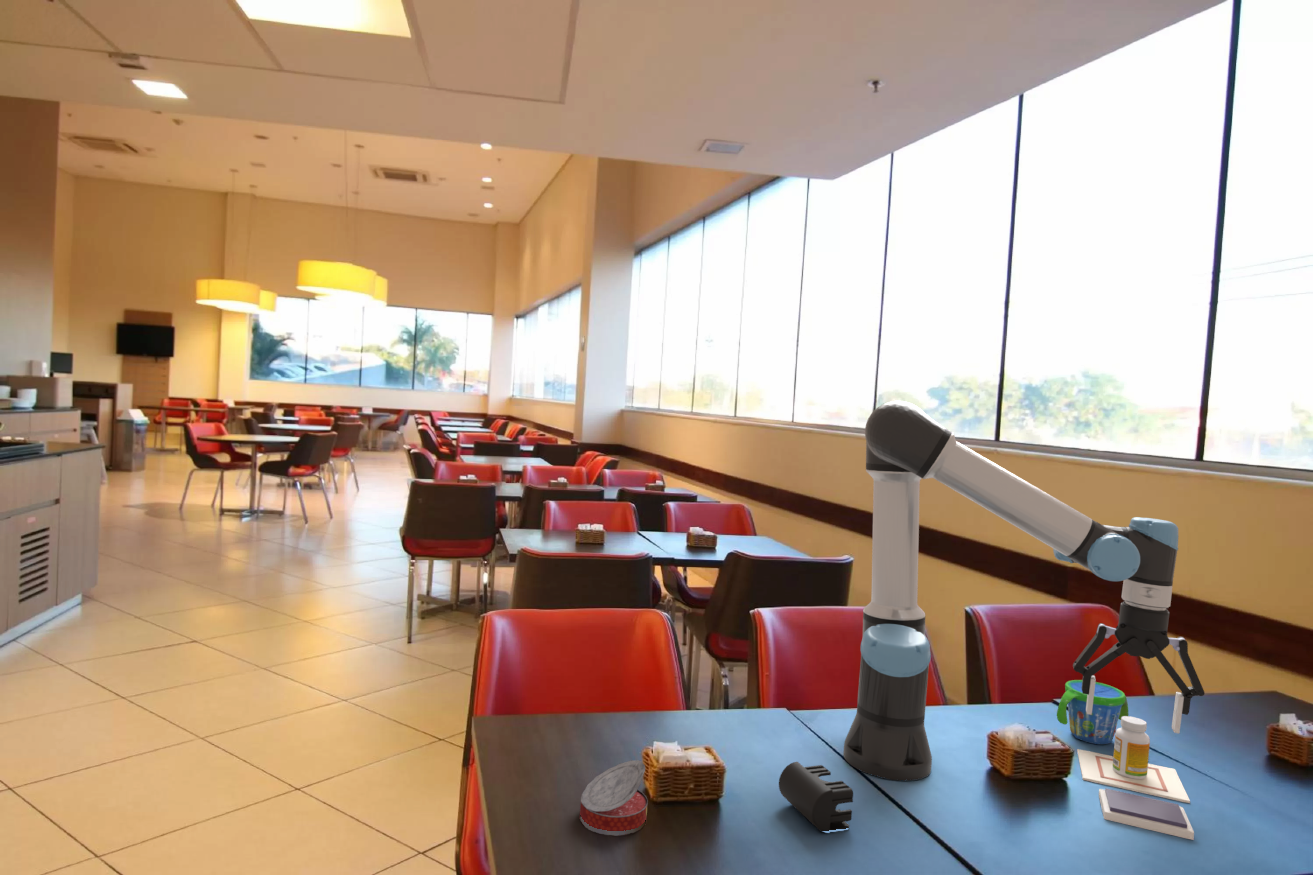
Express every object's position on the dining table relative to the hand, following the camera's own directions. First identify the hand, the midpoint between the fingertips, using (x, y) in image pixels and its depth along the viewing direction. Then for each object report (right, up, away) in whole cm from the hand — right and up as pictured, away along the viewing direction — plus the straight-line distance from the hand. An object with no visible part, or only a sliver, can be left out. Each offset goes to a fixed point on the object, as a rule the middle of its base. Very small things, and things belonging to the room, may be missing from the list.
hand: (1131, 721), depth 144 cm
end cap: (-62, -7, -23) cm, 66 cm away
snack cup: (+2, -10, +17) cm, 19 cm away
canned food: (-92, -5, -27) cm, 96 cm away
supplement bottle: (0, -10, 0) cm, 10 cm away
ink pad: (-7, -10, -15) cm, 20 cm away
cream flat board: (0, -10, 0) cm, 10 cm away
